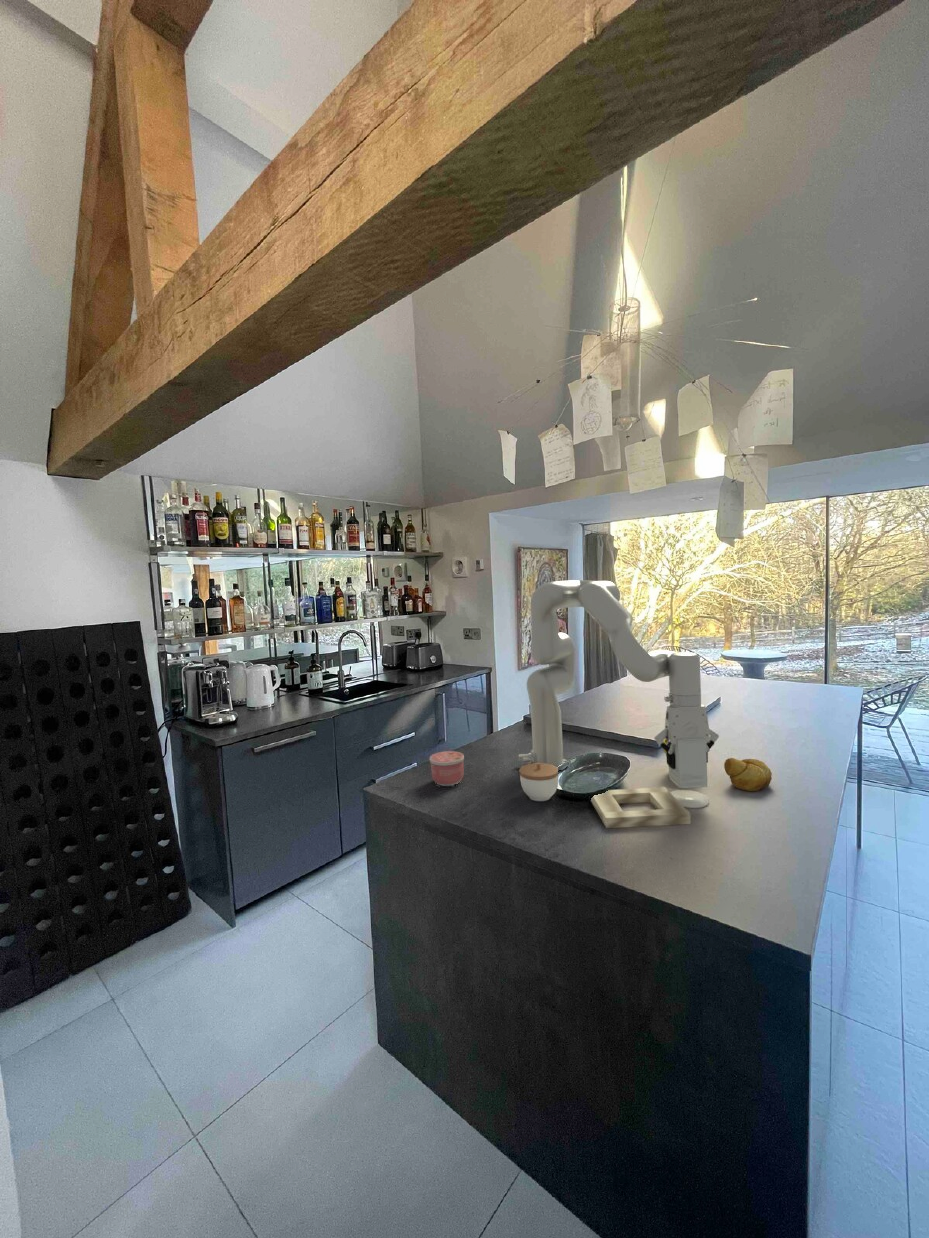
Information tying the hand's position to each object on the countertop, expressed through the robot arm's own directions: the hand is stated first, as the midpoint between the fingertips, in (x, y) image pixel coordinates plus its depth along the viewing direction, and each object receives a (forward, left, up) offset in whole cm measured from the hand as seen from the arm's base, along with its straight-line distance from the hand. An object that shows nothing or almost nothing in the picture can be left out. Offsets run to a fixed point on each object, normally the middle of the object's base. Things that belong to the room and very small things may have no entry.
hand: (687, 765), depth 135 cm
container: (-64, +21, -9) cm, 68 cm away
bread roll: (+21, +7, -9) cm, 24 cm away
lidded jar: (-38, +7, -9) cm, 40 cm away
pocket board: (-15, -5, -9) cm, 18 cm away
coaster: (0, 0, -9) cm, 9 cm away
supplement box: (0, 0, -5) cm, 5 cm away
